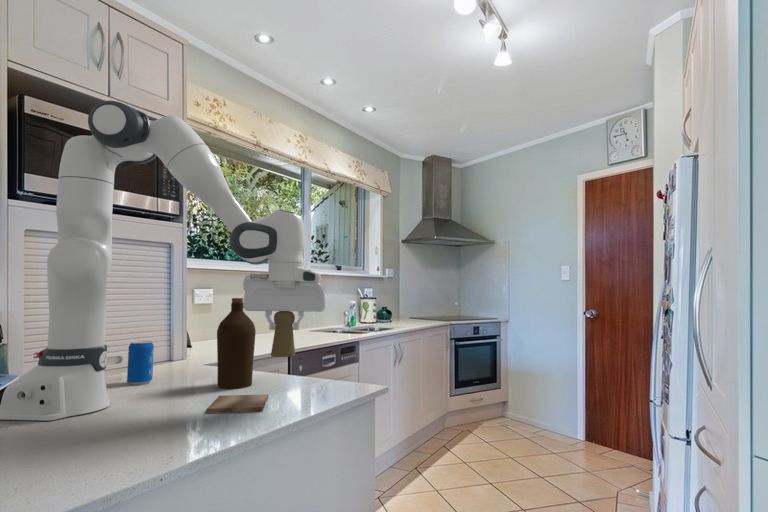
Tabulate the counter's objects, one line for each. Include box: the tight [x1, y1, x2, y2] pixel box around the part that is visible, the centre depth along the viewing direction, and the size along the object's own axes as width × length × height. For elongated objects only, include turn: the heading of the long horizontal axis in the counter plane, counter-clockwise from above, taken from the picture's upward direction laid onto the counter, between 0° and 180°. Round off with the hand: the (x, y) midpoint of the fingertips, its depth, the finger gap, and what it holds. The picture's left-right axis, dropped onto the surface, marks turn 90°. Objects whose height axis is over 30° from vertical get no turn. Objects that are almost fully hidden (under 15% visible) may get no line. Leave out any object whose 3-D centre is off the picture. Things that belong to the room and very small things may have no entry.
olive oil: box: [216, 297, 257, 390], centre depth 127 cm, size 11×11×25 cm
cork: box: [270, 311, 296, 358], centre depth 110 cm, size 6×6×11 cm
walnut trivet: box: [206, 393, 269, 414], centre depth 105 cm, size 12×12×1 cm
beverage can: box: [126, 340, 155, 386], centre depth 129 cm, size 6×6×12 cm
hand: (284, 329), depth 110 cm, fingers closed on cork, 4 cm apart
